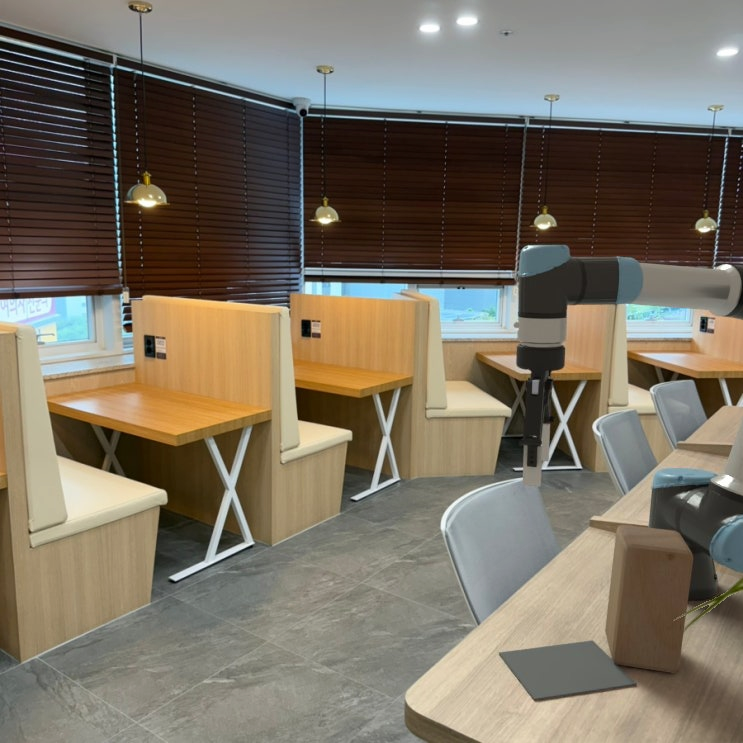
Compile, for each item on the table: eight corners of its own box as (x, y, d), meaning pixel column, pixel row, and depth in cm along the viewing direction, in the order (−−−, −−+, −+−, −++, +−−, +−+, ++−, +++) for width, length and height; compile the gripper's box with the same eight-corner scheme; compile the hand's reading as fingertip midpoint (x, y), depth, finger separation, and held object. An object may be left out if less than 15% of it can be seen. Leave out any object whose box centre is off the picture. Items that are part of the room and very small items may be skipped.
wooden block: (679, 676, 106) (695, 553, 103) (611, 666, 108) (625, 545, 105) (665, 642, 116) (680, 529, 113) (603, 633, 118) (616, 521, 115)
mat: (592, 642, 115) (592, 640, 115) (636, 685, 104) (636, 683, 104) (498, 654, 111) (498, 652, 111) (534, 700, 100) (534, 698, 100)
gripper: (526, 333, 122) (522, 449, 126) (505, 353, 99) (501, 494, 103) (570, 335, 120) (565, 453, 123) (559, 355, 97) (553, 500, 100)
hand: (536, 472), depth 113 cm, fingers open, 13 cm apart
